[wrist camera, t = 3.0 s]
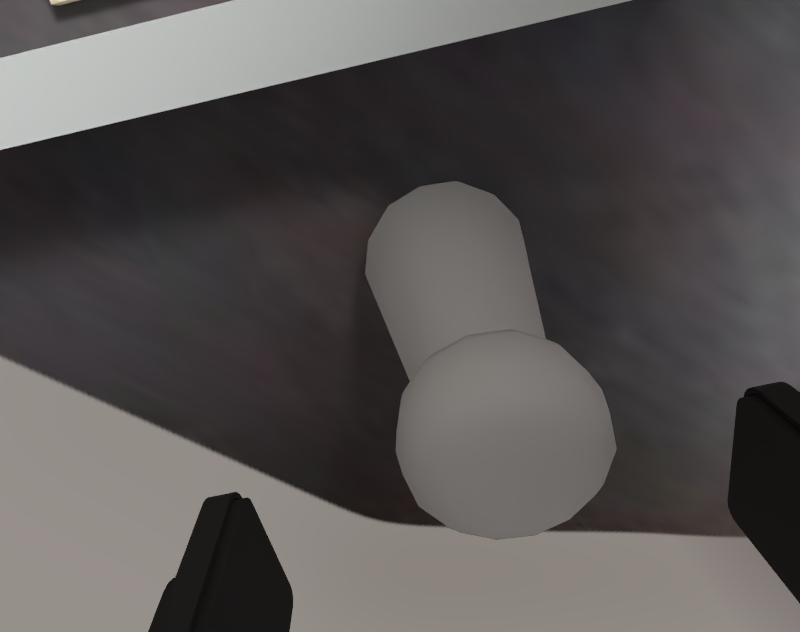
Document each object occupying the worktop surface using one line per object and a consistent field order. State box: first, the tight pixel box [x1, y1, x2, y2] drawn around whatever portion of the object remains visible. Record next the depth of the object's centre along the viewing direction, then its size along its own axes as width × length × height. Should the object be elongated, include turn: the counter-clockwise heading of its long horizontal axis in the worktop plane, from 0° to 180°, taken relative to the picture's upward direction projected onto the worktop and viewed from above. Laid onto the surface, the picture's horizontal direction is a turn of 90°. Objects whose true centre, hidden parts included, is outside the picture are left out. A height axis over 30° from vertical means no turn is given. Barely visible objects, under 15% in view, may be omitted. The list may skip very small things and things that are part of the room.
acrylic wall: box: [0, 0, 631, 150], centre depth 15 cm, size 24×2×5 cm, turn 102°
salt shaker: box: [365, 181, 617, 539], centre depth 15 cm, size 6×6×13 cm
